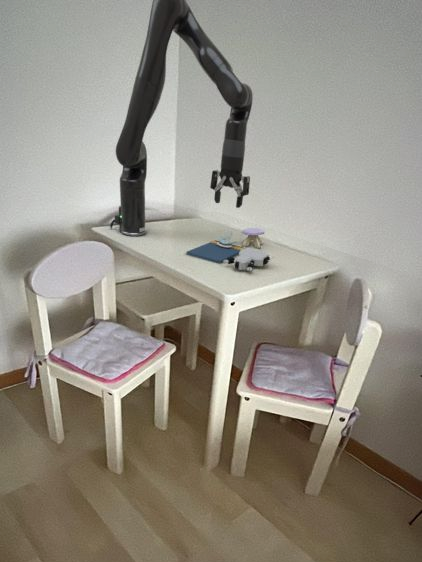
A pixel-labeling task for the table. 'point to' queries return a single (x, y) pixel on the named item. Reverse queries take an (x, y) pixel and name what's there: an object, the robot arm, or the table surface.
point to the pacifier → (226, 239)
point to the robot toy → (249, 259)
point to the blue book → (214, 252)
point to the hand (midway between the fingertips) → (227, 205)
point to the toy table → (253, 236)
